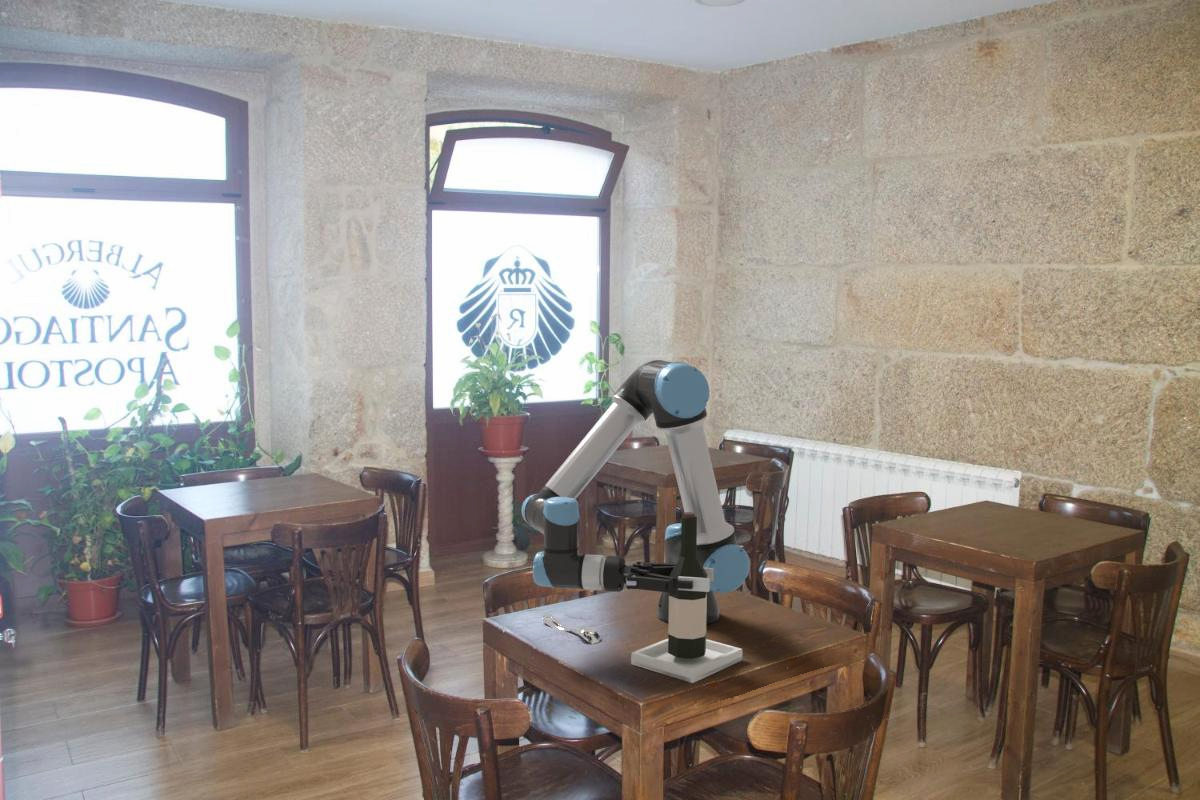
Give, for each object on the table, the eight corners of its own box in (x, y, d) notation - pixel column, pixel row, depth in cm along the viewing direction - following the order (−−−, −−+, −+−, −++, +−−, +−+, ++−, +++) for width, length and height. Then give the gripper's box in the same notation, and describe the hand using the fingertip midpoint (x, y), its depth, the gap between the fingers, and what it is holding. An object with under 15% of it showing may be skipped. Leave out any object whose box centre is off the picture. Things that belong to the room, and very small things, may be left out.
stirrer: (536, 608, 242) (552, 604, 245) (536, 622, 242) (552, 618, 245) (588, 634, 227) (604, 630, 229) (587, 650, 227) (603, 645, 230)
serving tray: (682, 643, 228) (682, 632, 228) (742, 660, 218) (742, 648, 217) (631, 664, 215) (631, 652, 215) (692, 683, 204) (692, 671, 204)
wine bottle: (660, 653, 215) (662, 514, 212) (679, 642, 222) (681, 507, 219) (694, 661, 210) (697, 519, 207) (713, 650, 217) (716, 512, 214)
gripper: (613, 577, 228) (715, 584, 224) (595, 603, 208) (706, 611, 204) (614, 545, 228) (715, 550, 223) (595, 568, 208) (707, 574, 203)
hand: (711, 579), depth 214 cm, fingers closed on wine bottle, 8 cm apart
